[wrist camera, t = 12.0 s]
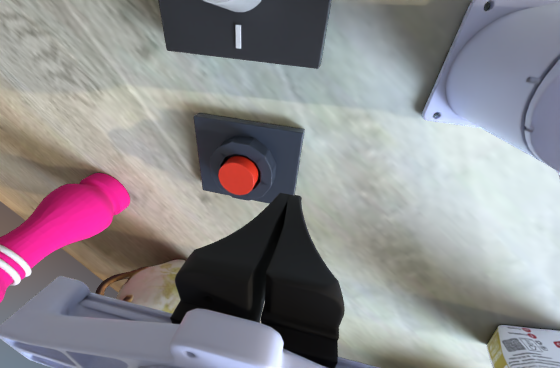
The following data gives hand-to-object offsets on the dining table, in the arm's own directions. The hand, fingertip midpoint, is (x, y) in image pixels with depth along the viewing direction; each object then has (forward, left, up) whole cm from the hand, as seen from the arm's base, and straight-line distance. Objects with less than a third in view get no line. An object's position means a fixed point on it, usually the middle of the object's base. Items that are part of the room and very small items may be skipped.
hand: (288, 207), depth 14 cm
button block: (+6, +3, -10) cm, 12 cm away
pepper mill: (+27, +12, -11) cm, 31 cm away
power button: (+6, +3, -8) cm, 10 cm away
